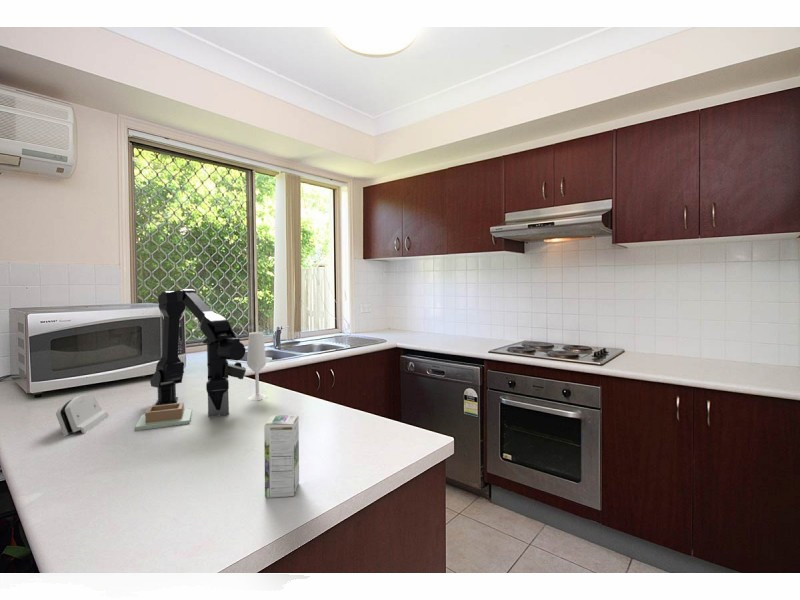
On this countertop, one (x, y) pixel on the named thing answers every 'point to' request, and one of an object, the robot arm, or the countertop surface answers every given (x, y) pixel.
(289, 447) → the syrup box
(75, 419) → the hinge
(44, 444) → the countertop surface
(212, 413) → the brushed grey metal block
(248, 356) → the champagne flute
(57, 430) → the countertop surface
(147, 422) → the post socket
